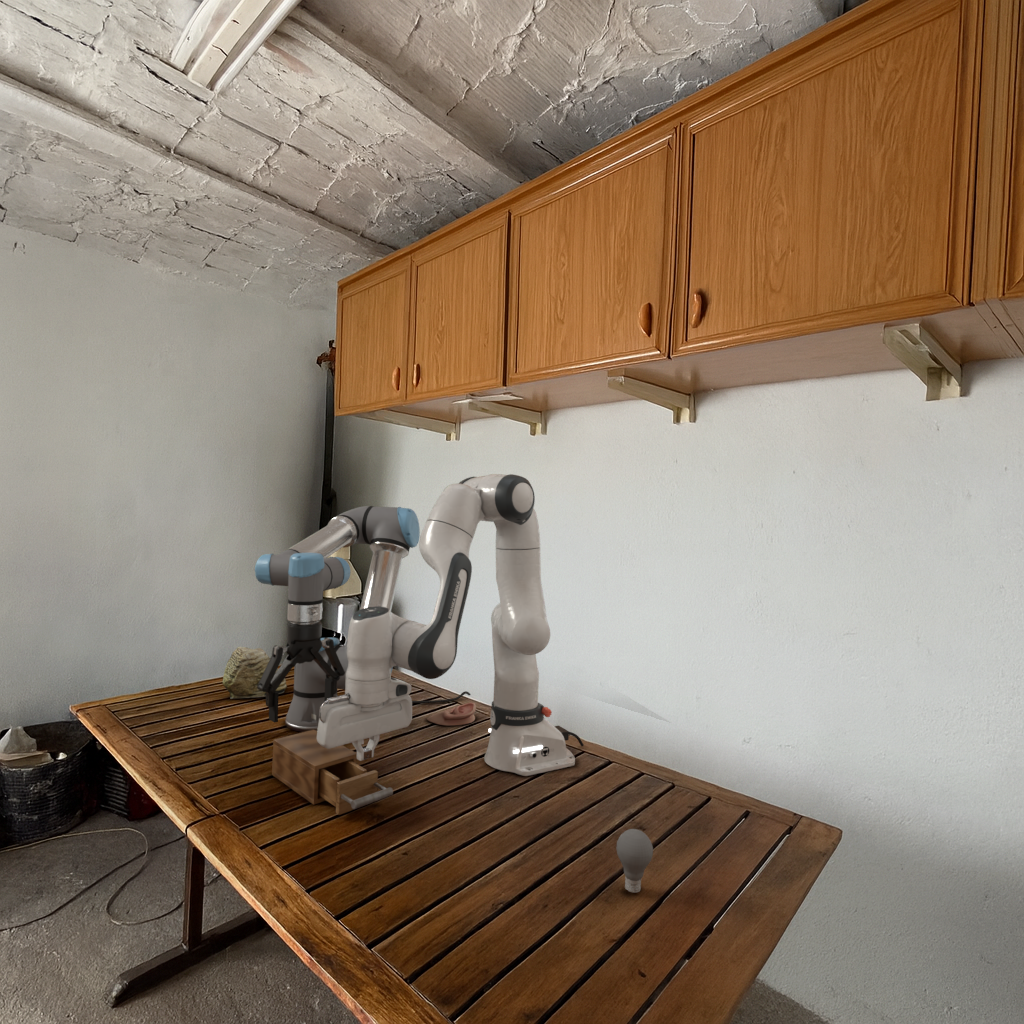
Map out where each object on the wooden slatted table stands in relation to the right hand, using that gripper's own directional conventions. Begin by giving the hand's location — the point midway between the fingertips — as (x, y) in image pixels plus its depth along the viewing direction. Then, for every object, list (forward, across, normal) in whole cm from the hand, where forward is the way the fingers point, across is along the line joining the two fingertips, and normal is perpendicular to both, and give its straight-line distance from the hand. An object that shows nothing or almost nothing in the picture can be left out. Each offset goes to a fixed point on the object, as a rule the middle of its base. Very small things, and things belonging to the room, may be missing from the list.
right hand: (365, 758), depth 126 cm
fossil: (+12, +17, +86) cm, 89 cm away
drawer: (+11, 0, +8) cm, 13 cm away
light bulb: (+12, +19, -51) cm, 55 cm away
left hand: (-2, 0, +26) cm, 26 cm away
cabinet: (+12, 0, +20) cm, 23 cm away
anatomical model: (+12, +50, +30) cm, 59 cm away
